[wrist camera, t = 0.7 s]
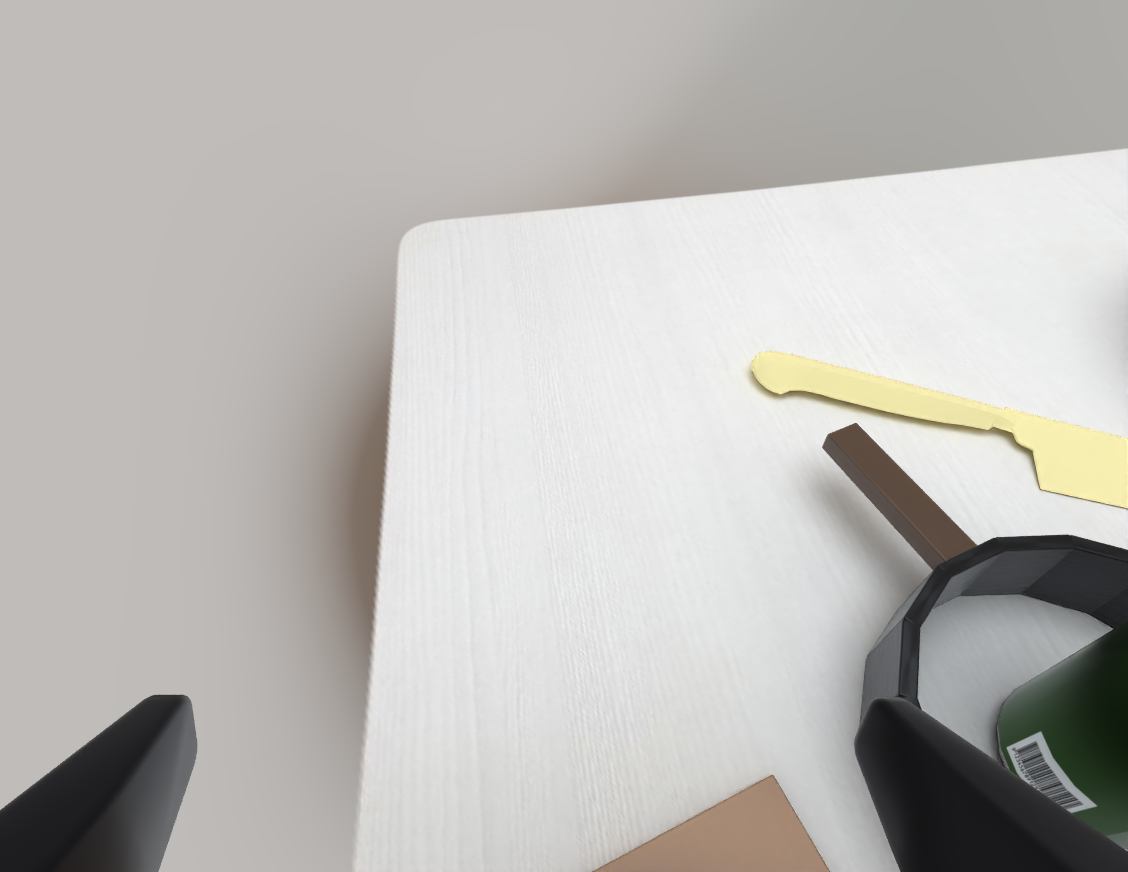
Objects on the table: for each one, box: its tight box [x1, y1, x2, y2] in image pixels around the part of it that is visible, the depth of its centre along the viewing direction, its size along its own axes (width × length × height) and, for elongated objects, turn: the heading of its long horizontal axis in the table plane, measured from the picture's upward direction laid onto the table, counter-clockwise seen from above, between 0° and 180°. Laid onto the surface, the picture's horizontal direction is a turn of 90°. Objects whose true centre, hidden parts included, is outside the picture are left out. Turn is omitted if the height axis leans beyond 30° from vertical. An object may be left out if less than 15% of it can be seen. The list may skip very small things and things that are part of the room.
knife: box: [751, 351, 1128, 508], centre depth 30 cm, size 1×34×5 cm
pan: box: [822, 423, 1128, 724], centre depth 23 cm, size 21×14×4 cm
